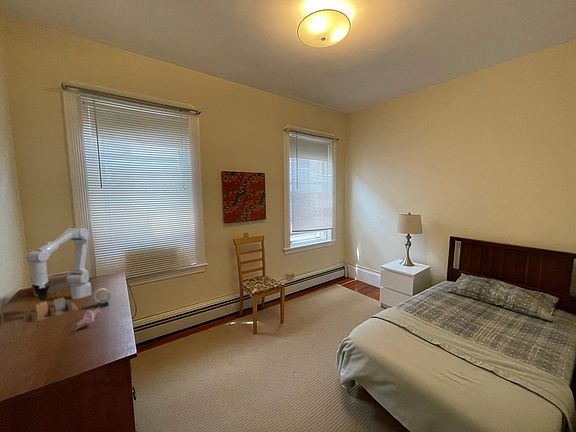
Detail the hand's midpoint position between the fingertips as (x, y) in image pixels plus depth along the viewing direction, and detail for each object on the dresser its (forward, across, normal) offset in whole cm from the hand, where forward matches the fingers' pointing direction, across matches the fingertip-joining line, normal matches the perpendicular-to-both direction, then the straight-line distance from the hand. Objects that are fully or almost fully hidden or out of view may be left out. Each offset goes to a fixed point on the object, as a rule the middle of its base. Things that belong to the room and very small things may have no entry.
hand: (41, 298), depth 127 cm
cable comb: (+9, +2, +3) cm, 10 cm away
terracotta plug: (+8, +2, -1) cm, 9 cm away
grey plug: (+8, +2, +6) cm, 11 cm away
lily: (+10, +35, +13) cm, 39 cm away
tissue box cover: (+10, -45, +12) cm, 48 cm away
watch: (+10, +15, +23) cm, 29 cm away
